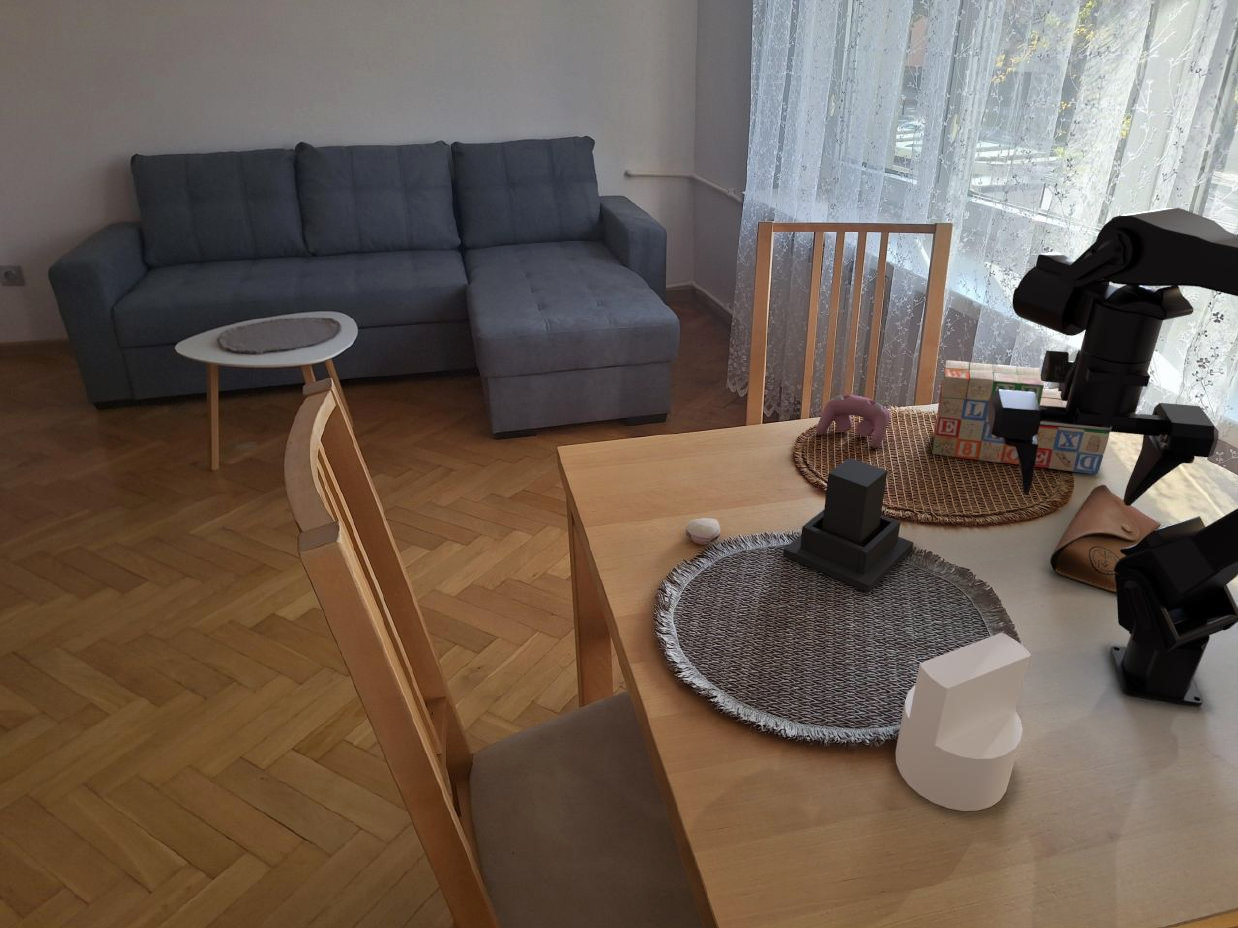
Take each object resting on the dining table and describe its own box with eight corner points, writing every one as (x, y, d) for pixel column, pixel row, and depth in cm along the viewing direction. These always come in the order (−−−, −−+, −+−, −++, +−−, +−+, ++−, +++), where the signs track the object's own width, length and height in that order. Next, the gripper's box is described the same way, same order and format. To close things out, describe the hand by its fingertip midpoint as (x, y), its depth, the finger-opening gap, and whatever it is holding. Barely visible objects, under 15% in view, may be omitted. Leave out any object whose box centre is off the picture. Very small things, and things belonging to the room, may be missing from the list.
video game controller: (885, 450, 123) (896, 404, 123) (878, 449, 119) (890, 401, 119) (821, 435, 128) (832, 391, 127) (812, 433, 124) (823, 388, 123)
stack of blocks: (1092, 455, 117) (1115, 374, 111) (1098, 476, 112) (1122, 392, 106) (932, 435, 124) (945, 358, 118) (930, 454, 119) (944, 374, 113)
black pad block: (877, 543, 98) (887, 470, 93) (856, 562, 95) (867, 487, 90) (840, 529, 101) (849, 457, 96) (820, 546, 98) (828, 473, 93)
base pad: (912, 549, 98) (917, 520, 97) (868, 592, 92) (872, 563, 90) (830, 517, 105) (833, 490, 103) (782, 555, 98) (785, 527, 96)
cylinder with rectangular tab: (947, 827, 66) (974, 716, 60) (873, 746, 73) (891, 641, 67) (1032, 787, 69) (1065, 678, 63) (953, 713, 76) (976, 610, 70)
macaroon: (679, 541, 101) (679, 523, 100) (700, 522, 105) (701, 505, 104) (709, 552, 99) (709, 535, 98) (730, 533, 102) (731, 516, 101)
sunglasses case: (1132, 595, 89) (1111, 540, 88) (1063, 600, 94) (1043, 549, 93) (1163, 522, 101) (1144, 473, 100) (1101, 530, 106) (1083, 483, 105)
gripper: (1205, 329, 80) (1158, 470, 88) (997, 316, 85) (969, 450, 92) (1245, 373, 71) (1189, 526, 78) (1009, 356, 75) (977, 501, 83)
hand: (1075, 497), depth 83 cm, fingers open, 9 cm apart
